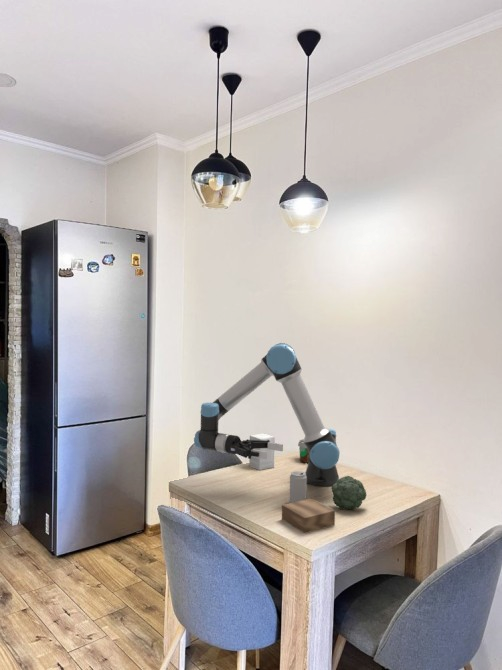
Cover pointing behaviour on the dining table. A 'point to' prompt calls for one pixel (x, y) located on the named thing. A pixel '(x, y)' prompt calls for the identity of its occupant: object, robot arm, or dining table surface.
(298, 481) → the beverage can
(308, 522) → the walnut block
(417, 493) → the dining table surface
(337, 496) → the vegetable
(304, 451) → the food container
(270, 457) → the supplement box
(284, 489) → the dining table surface
